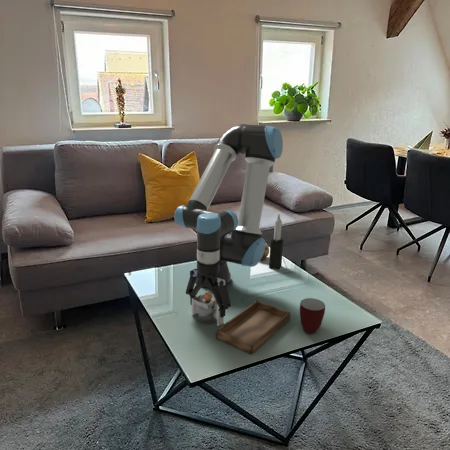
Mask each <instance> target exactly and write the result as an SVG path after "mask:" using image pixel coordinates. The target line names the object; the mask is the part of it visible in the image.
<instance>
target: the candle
mask: <svg viewBox="0 0 450 450" xmlns="http://www.w3.org/2000/svg"><path fill="white" fill-rule="evenodd" d="M282 224H283V222H282V219H281V214H280V213H278V214H277V217H276V219H275V220H274V230H273V231H274V232H273V233H274V234H273V237H272V238H271V239H270V245H269V246H270V247H269V261H268V269H273V270H277V271H279V270H281V268H282V261H283V250H284V239H283V238H281V237H282Z"/></svg>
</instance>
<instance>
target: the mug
mask: <svg viewBox="0 0 450 450" xmlns="http://www.w3.org/2000/svg"><path fill="white" fill-rule="evenodd" d="M299 305H300V306H299V317H300V319H299V320H300V323H301V327H302V329H303V330H304V332H305V333H307V334H309V333H310V334H311V335H313V334H316V333H317V331H318V330H319V329H320V327H321V326H322V323H323V319H324V316H325V313H326V304H325V302H323V301H322V300H320V299H318V298H313V297H309V298H308V297H307V298H303V299H301V301H300V304H299Z"/></svg>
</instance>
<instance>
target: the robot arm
mask: <svg viewBox="0 0 450 450" xmlns="http://www.w3.org/2000/svg"><path fill="white" fill-rule="evenodd" d="M283 147H284V141H283V135H282V132H281V130H280V129H279V128H278V127H276V126H271V125H263V124H262V125H259V124H247V123H242V124H241V123H240V124H236V125H234V126H232V127H231V128H229V129H227V130H226V131H225V132H224V133H223V134H222V135H221V136H220V137H219V139H218V140H217V141H216V142H215V144H214V146H213V151H214V152H213V154H212V156H211V158H210V160H209V161H208V163H207V165H206V168H205V170H203V173H202V175H201V177H200V178H199V181H198V183H197V185H196V186H195V188H194V190H193V192H192V194H191V196H190V198H189V199H188V201H187V204H186V205H185V204H183V205H179V206H177V208H176V209H175V211H174V222H175V224H176V225H178V226H179V227H183V228H186V229H193V230H196V259H197V260H196V268H194V269H192V270H190V271H189V278H188V279H189V280H188V281H187V286H186V290H185V294H186V295H188V296H189V299H190V301H189V302H190V303H189V304H190V306H191V316H195V315H196V314H197V315H198V305H196V304H194V303H193V299H195V298H196V297H198V296H199V295H198V293H199V292H200V291H201V288H202V287H203V288H208V289H209V291H210V292H212V294H213V295H214V297H215V299H216V301H217V320H216V326H217V327H221V326H222V325H224V319H225V316H226V310H228V309H229V308H231V307H232V304H231V300H230V296H229V291H228V285H229V284H230V283H231V279H232V278H231V277H232V275H231V272H230V269H229V266H228V263H233V264H237V265H241V266H242V267H244V266H245V267H256V266H257V265H258V264H259V263H260V261H261V260H262V259H261V258H262V256H263V254H264V251H265V243H266V240H265V239H264V238H263V237H262V236H263V233H262V231H261V229H260V225H261V220H262V213H263V208H264V207H263V206H264V203H265V196H266V190H267V186H268V185H267V184H268V180H269V174H270V168H271V167H272V166H273V165H274V164H275V163H276V160H278V159H280V158H281V156H282V153H283ZM240 155H244V160H245V162H246V163H247V165H246V166H247V167H246V173H245V178H244V185H243V189H242V195H241V201H240V208H239V214H238V216H237V214H236V213H235V212H234V211H233V210H229V209H228V210H222V211H214V210H209V208H210V205H211V203H212V202H213V200H214V197H215V196H216V194H217V192H218V190H219V188H220V185H221V184H222V181H223V179H224V178H225V176H226V174H227V172H228V169H229V167H230V166H231V164H232V162H235V160H236V159H237V157H238V156H240Z"/></svg>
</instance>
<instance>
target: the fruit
mask: <svg viewBox="0 0 450 450" xmlns="http://www.w3.org/2000/svg"><path fill="white" fill-rule="evenodd" d="M269 255H270V247H269V244H267V242H265V251H264V254H263V256H262V258H261V260H264V259H266V258H267V257H268V256H269Z"/></svg>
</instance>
